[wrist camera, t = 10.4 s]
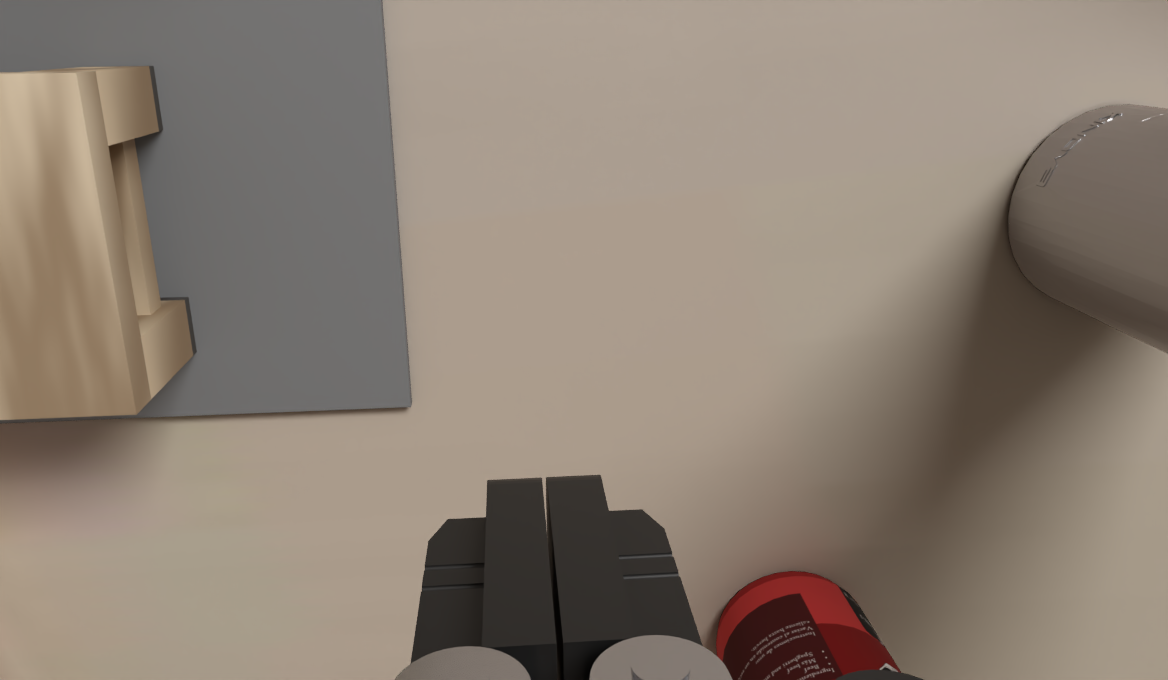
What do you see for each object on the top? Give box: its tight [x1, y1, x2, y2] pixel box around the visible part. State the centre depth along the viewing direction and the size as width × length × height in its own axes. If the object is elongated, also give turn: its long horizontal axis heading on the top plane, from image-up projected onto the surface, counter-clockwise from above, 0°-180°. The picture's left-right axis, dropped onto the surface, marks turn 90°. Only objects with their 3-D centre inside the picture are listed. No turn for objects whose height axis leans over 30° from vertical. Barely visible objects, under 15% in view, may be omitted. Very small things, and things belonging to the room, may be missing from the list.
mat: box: [0, 0, 412, 423], centre depth 38 cm, size 23×18×1 cm
